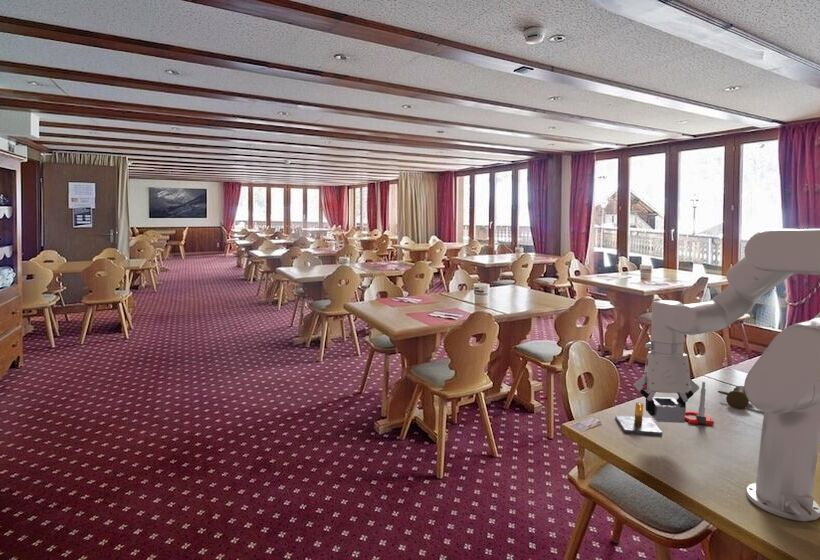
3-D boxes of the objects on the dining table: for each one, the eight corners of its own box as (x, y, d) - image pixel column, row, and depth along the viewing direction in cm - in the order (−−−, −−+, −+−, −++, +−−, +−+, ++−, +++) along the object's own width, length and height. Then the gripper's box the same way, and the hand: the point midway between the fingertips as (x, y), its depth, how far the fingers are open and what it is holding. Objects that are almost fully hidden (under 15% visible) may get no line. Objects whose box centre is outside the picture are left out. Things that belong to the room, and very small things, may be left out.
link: (684, 422, 122) (685, 407, 122) (657, 421, 123) (657, 406, 123) (672, 411, 130) (673, 397, 130) (646, 410, 131) (647, 396, 131)
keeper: (662, 435, 134) (664, 411, 134) (624, 433, 136) (626, 409, 135) (650, 420, 144) (652, 398, 143) (615, 418, 146) (616, 396, 145)
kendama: (788, 423, 144) (712, 403, 158) (793, 415, 151) (719, 396, 165) (792, 404, 143) (715, 386, 157) (796, 397, 150) (722, 379, 164)
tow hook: (674, 413, 151) (686, 424, 142) (677, 373, 150) (689, 381, 141) (703, 415, 150) (717, 426, 141) (706, 374, 149) (720, 383, 140)
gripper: (636, 350, 123) (634, 418, 124) (709, 351, 120) (707, 421, 122) (627, 344, 130) (626, 408, 132) (696, 345, 127) (694, 410, 129)
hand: (665, 413), depth 127 cm, fingers closed on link, 6 cm apart
